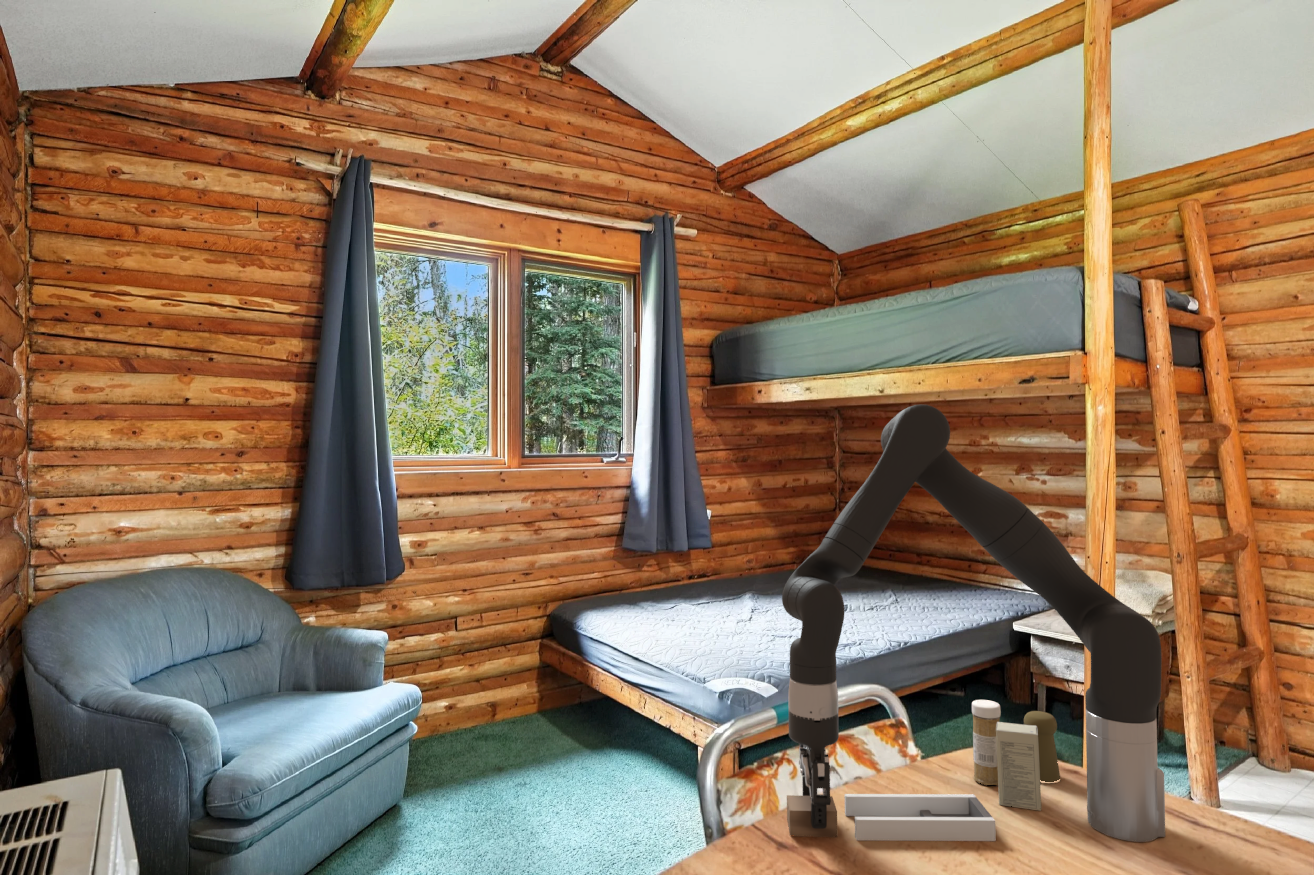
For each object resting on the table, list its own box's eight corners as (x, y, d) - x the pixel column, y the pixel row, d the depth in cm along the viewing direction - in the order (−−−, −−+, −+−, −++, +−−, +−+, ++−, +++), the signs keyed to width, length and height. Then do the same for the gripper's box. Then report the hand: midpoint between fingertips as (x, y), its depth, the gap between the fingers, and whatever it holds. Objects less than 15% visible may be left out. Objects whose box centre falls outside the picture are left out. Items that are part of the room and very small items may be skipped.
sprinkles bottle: (1006, 781, 134) (1004, 702, 134) (995, 789, 131) (993, 709, 131) (979, 773, 137) (978, 696, 137) (968, 781, 134) (967, 703, 134)
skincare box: (1040, 800, 126) (1039, 725, 126) (1041, 812, 122) (1040, 734, 123) (997, 793, 129) (996, 719, 129) (996, 804, 125) (995, 728, 125)
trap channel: (974, 813, 122) (973, 794, 122) (995, 841, 114) (995, 820, 114) (844, 812, 123) (844, 793, 123) (856, 840, 115) (856, 819, 115)
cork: (1065, 785, 132) (1064, 720, 132) (1027, 782, 133) (1026, 718, 133) (1054, 770, 138) (1053, 708, 138) (1018, 768, 139) (1017, 706, 139)
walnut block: (832, 822, 121) (832, 796, 121) (837, 838, 116) (837, 811, 116) (787, 820, 121) (786, 795, 121) (790, 837, 116) (789, 810, 116)
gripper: (783, 692, 127) (783, 792, 127) (794, 724, 112) (796, 836, 112) (829, 692, 126) (830, 792, 126) (847, 724, 112) (848, 837, 112)
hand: (814, 813), depth 119 cm, fingers open, 8 cm apart
